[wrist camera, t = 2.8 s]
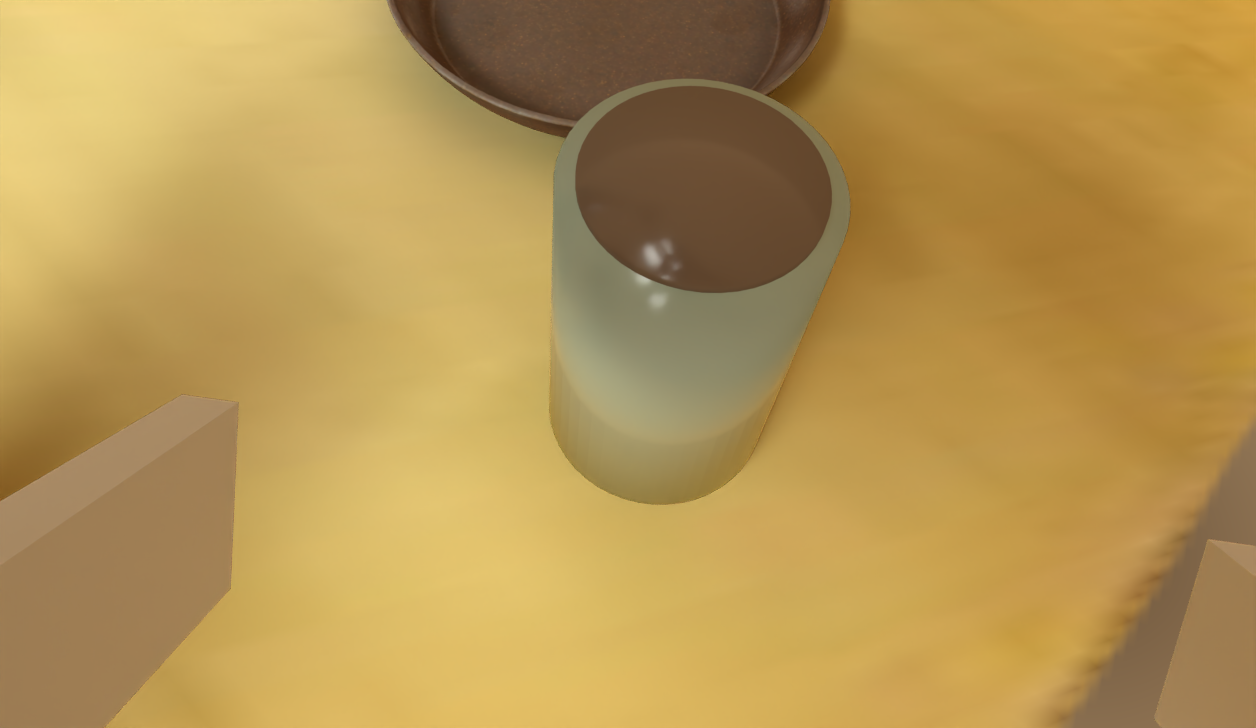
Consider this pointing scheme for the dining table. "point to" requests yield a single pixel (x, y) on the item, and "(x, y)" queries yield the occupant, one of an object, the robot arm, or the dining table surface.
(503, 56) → the plant saucer
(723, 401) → the pale green cup
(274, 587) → the dining table surface
